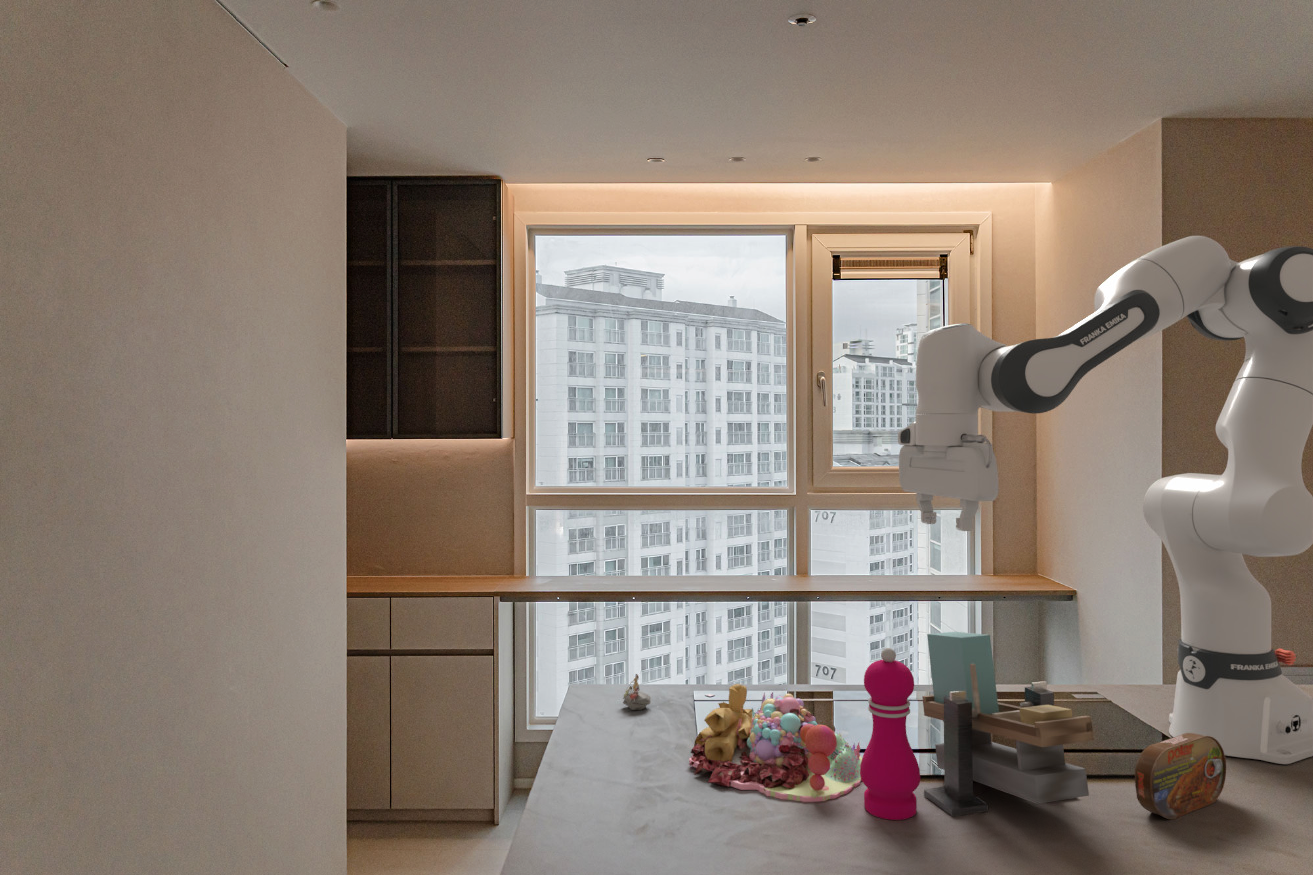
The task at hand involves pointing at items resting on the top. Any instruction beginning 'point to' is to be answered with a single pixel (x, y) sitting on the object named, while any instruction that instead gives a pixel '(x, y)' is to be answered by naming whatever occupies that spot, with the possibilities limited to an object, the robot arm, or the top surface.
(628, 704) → the figurine
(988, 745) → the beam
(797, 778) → the candy landscape model
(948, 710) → the fulcrum
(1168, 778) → the tin
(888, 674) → the pepper mill
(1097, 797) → the top surface
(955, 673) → the teal rectangular block
